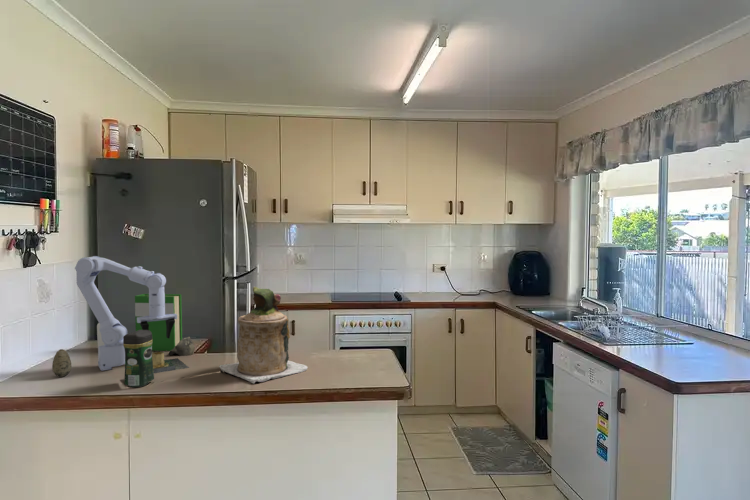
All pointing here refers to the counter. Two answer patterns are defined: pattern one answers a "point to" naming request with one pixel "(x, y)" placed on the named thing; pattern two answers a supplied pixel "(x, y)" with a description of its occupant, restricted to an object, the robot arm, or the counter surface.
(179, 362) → the carrier
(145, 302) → the hardback book
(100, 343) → the pill bottle
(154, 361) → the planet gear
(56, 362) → the decorative egg
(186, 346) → the fossil
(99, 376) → the counter surface
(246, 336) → the cookie jar
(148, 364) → the coffee jar
